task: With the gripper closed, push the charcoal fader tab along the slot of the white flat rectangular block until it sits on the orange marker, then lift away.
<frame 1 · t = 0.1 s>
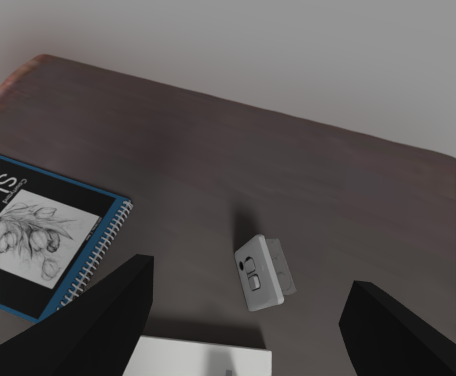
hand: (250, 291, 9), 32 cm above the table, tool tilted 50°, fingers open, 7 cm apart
sketchbook: (25, 230, 41), on the table
electrical switch: (255, 276, 40), on the table
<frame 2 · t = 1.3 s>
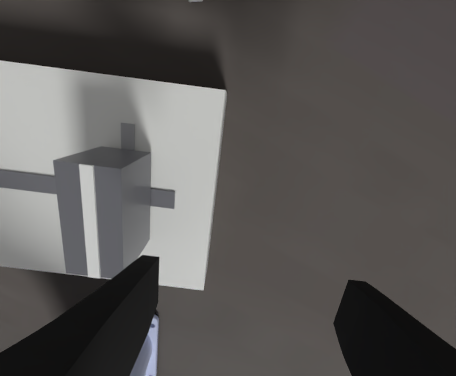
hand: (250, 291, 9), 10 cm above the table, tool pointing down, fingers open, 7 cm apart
white flat rectangular block: (54, 169, 18), on the table
fader tab: (111, 208, 13), point 5 cm above the table, slide at 0.0 cm
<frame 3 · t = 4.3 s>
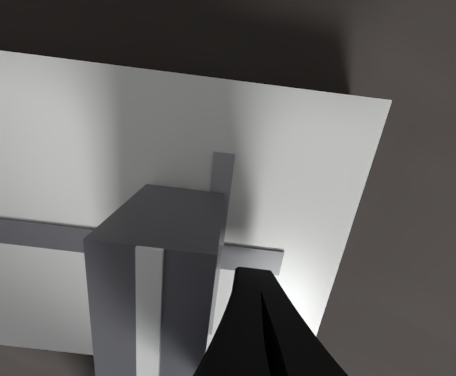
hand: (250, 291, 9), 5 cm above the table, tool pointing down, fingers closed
white flat rectangular block: (91, 207, 13), on the table
fader tab: (168, 290, 8), point 5 cm above the table, slide at 1.3 cm, touching gripper
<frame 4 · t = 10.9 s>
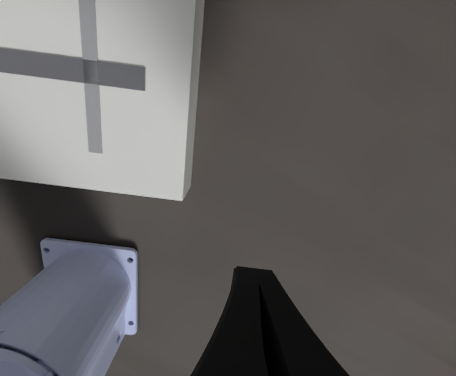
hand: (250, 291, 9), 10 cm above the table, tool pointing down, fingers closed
white flat rectangular block: (12, 65, 16), on the table
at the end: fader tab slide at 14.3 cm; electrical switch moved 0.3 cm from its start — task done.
